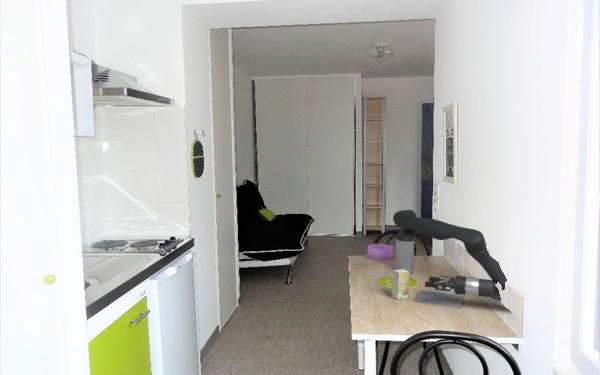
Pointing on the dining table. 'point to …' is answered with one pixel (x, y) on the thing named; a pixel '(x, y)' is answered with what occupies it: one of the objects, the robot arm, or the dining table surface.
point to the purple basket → (380, 251)
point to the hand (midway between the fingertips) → (427, 281)
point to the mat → (440, 298)
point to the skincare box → (400, 284)
